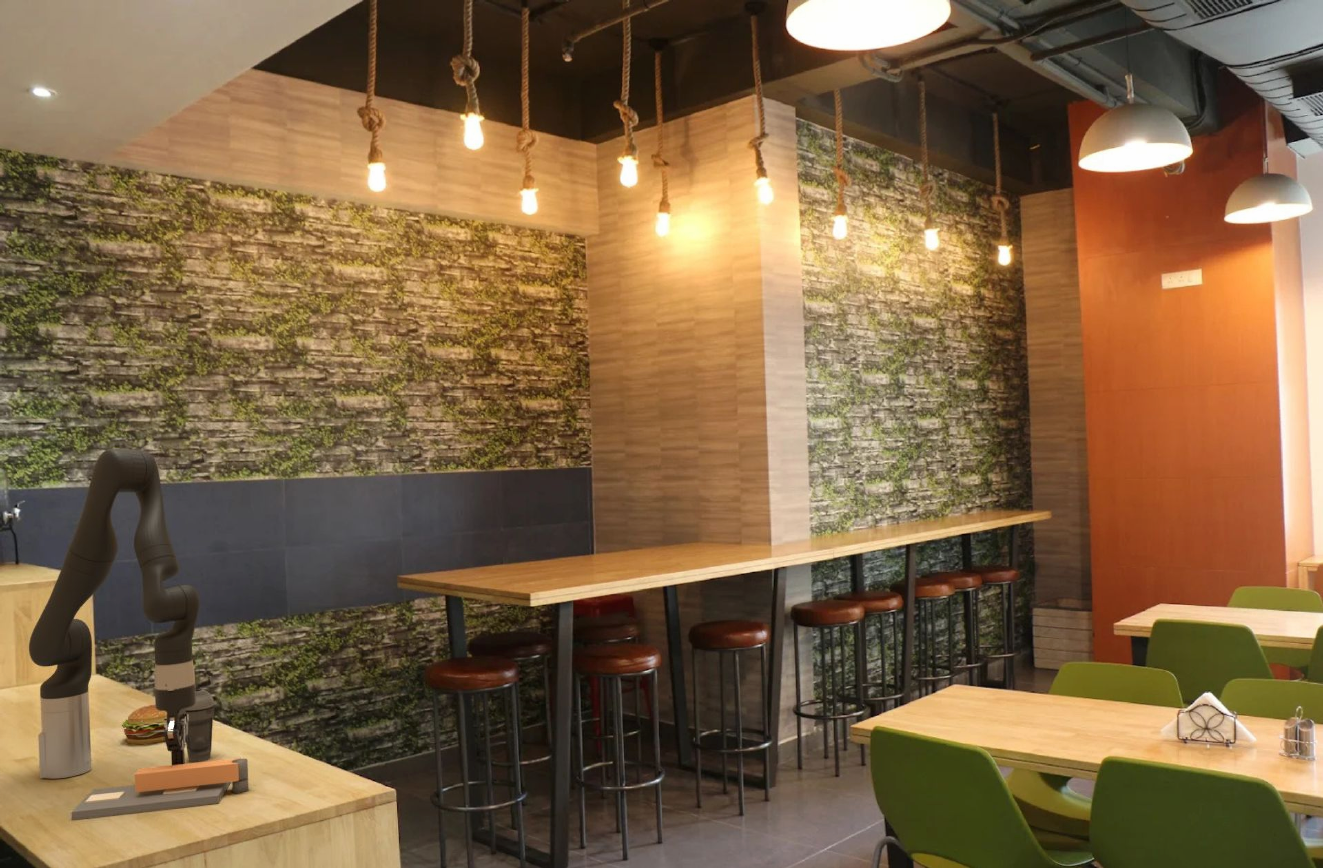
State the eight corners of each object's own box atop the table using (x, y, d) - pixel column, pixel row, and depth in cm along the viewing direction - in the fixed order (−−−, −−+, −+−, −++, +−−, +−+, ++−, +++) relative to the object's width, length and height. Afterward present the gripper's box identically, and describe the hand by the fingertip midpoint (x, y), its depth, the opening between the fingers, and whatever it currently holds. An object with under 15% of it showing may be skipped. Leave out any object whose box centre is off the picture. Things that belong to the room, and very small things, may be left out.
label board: (71, 820, 199) (71, 808, 199) (93, 796, 213) (93, 785, 213) (242, 800, 206) (242, 789, 206) (253, 779, 219) (253, 768, 219)
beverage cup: (204, 764, 232) (200, 673, 233) (174, 763, 234) (171, 673, 234) (224, 754, 239) (220, 666, 240) (195, 753, 241) (192, 666, 241)
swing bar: (249, 774, 215) (248, 757, 215) (246, 780, 211) (245, 762, 211) (140, 786, 210) (139, 768, 210) (135, 792, 206) (134, 774, 206)
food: (119, 750, 247) (118, 716, 247) (124, 736, 260) (122, 704, 260) (184, 741, 253) (182, 708, 253) (185, 728, 266) (183, 696, 266)
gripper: (162, 679, 222) (166, 761, 221) (147, 692, 209) (150, 780, 208) (200, 675, 223) (204, 757, 223) (187, 688, 210) (191, 775, 210)
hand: (178, 768), depth 216 cm, fingers closed
